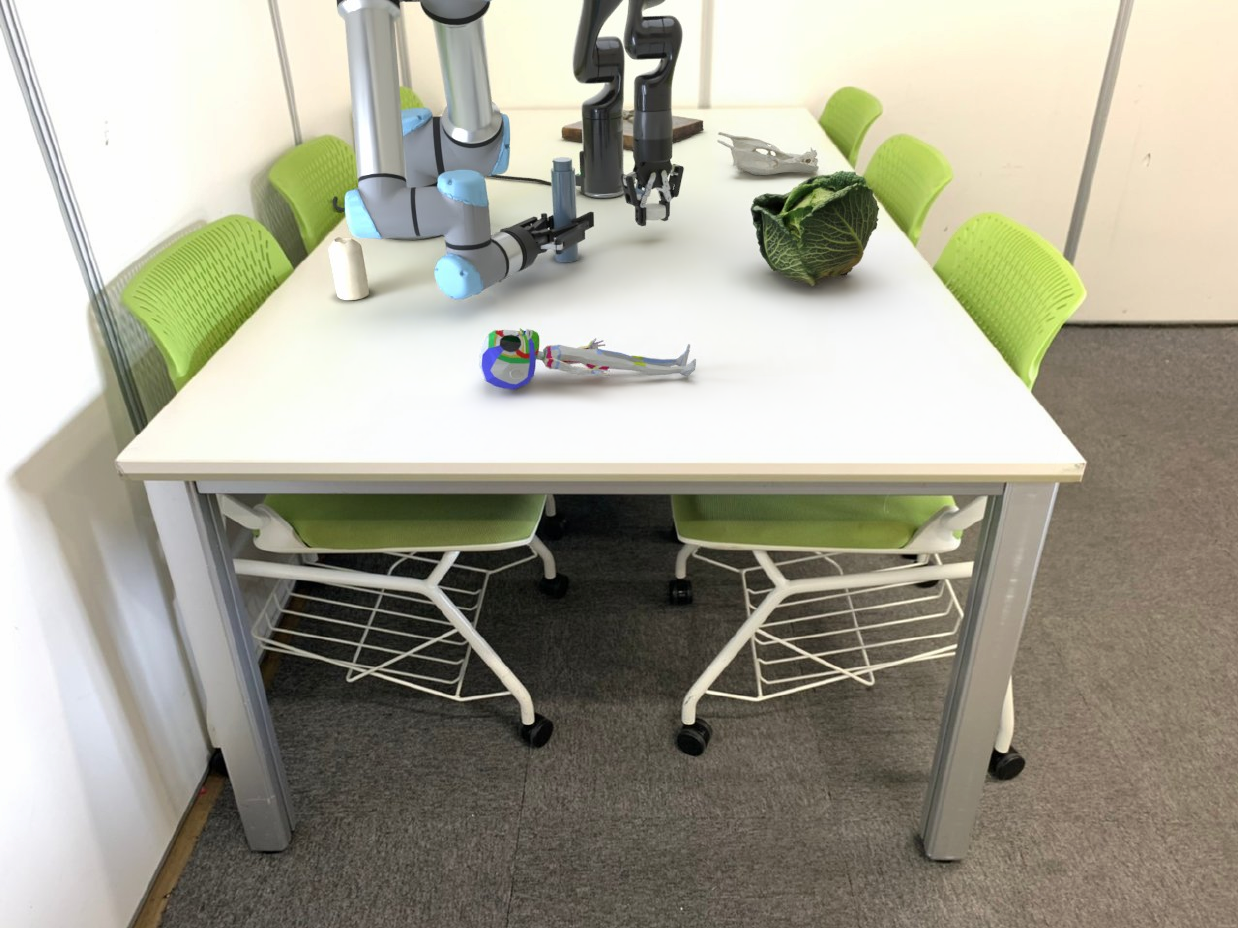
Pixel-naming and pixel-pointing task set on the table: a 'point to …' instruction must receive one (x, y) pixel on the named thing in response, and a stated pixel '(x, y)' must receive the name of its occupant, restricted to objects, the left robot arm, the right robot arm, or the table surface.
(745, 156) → the anatomical model
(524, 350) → the toy
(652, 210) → the lid
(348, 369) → the table surface
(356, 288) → the candle
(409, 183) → the left robot arm
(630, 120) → the plaque
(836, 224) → the vegetable
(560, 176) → the blue slim bottle
